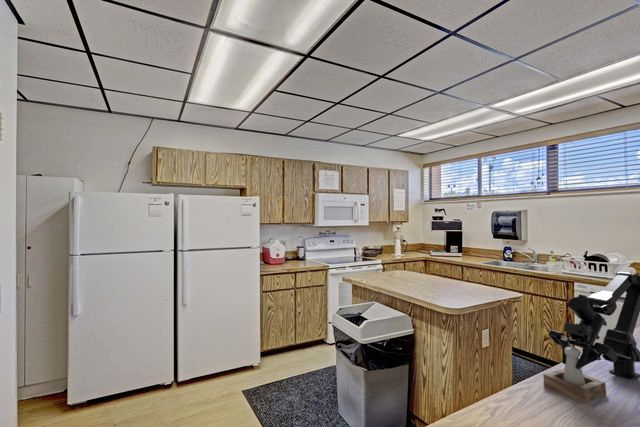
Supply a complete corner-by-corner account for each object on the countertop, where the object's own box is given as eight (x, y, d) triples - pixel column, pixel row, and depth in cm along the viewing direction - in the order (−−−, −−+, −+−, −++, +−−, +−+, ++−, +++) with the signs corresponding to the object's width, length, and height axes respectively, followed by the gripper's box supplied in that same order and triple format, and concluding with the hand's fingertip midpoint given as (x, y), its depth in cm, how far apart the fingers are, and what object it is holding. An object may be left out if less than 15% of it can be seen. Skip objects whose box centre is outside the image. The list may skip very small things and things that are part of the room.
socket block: (567, 379, 117) (566, 367, 117) (606, 395, 106) (605, 382, 106) (544, 385, 113) (543, 374, 113) (582, 403, 101) (581, 390, 102)
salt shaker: (589, 391, 106) (587, 351, 106) (570, 391, 107) (568, 351, 107) (578, 383, 112) (575, 345, 112) (560, 382, 113) (557, 344, 113)
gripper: (549, 307, 120) (530, 342, 116) (609, 320, 103) (589, 362, 98) (565, 325, 123) (547, 360, 118) (626, 341, 105) (607, 383, 101)
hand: (570, 365), depth 109 cm, fingers open, 4 cm apart
